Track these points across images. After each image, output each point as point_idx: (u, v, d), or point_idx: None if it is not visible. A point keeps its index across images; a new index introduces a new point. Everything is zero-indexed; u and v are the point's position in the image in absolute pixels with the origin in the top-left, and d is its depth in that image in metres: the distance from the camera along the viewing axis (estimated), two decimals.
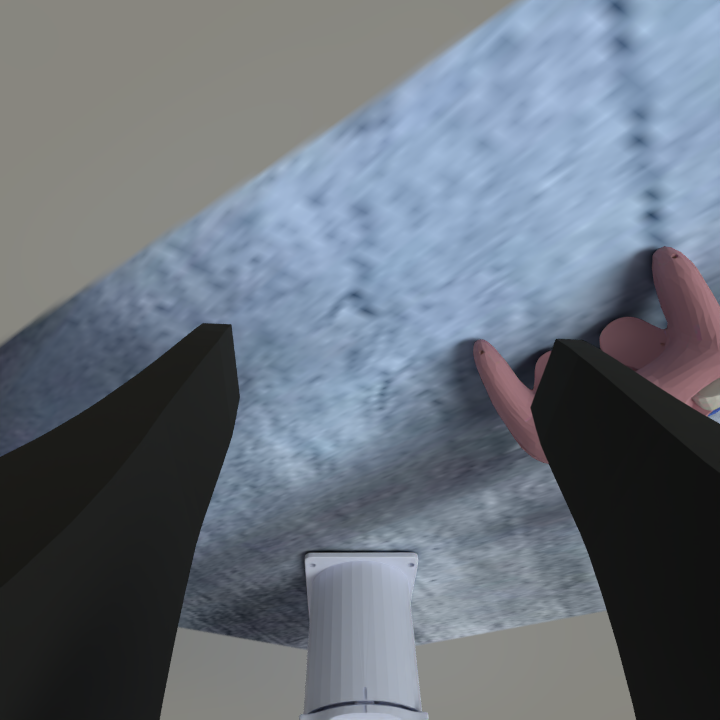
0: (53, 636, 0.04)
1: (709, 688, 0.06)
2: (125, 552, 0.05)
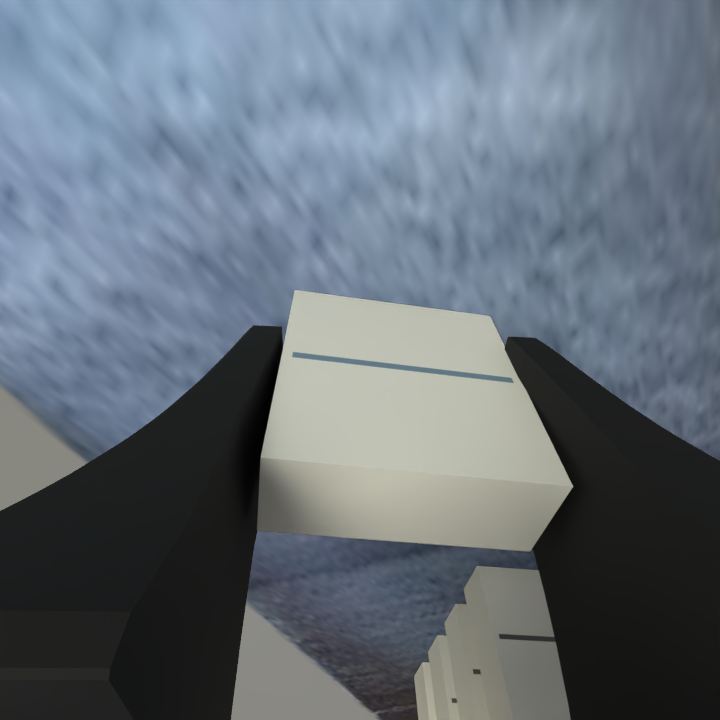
0: (173, 637, 0.04)
1: (629, 688, 0.06)
2: (215, 552, 0.06)
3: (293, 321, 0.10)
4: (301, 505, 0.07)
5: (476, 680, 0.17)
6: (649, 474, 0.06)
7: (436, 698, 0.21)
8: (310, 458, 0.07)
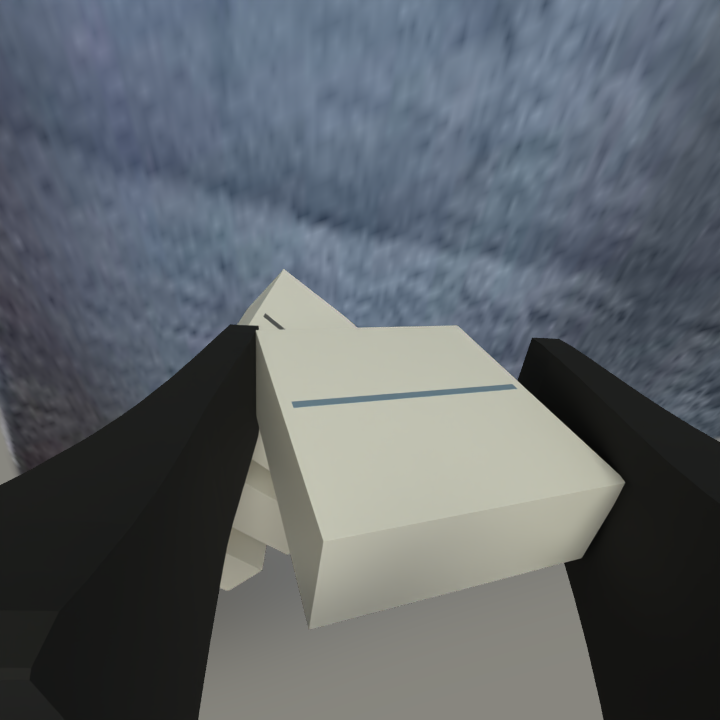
0: (118, 637, 0.04)
1: (669, 688, 0.06)
2: (173, 553, 0.06)
3: (273, 365, 0.08)
4: (364, 583, 0.06)
5: None
6: (688, 475, 0.06)
7: None
8: (377, 525, 0.06)
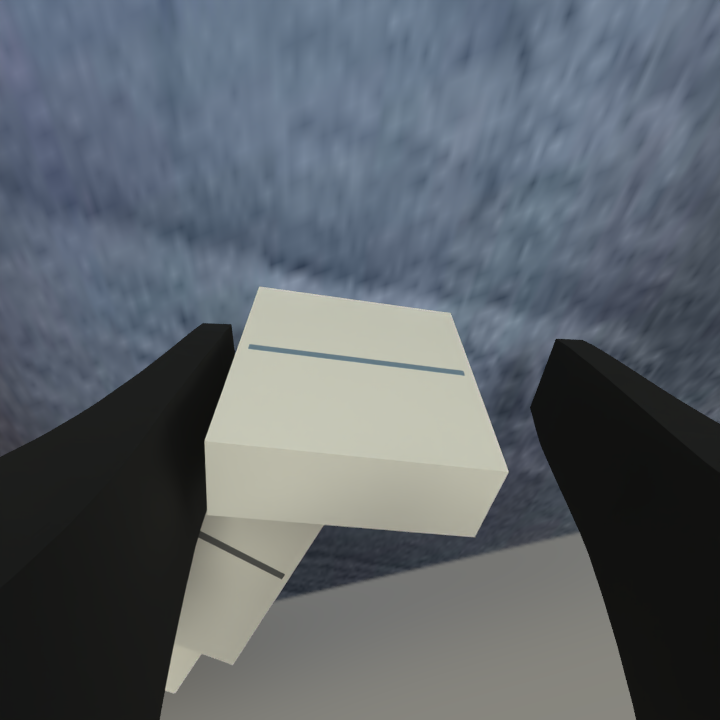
0: (53, 636, 0.04)
1: (709, 688, 0.06)
2: (125, 551, 0.05)
3: (254, 315, 0.10)
4: (248, 489, 0.08)
5: None
6: None
7: None
8: (252, 442, 0.07)
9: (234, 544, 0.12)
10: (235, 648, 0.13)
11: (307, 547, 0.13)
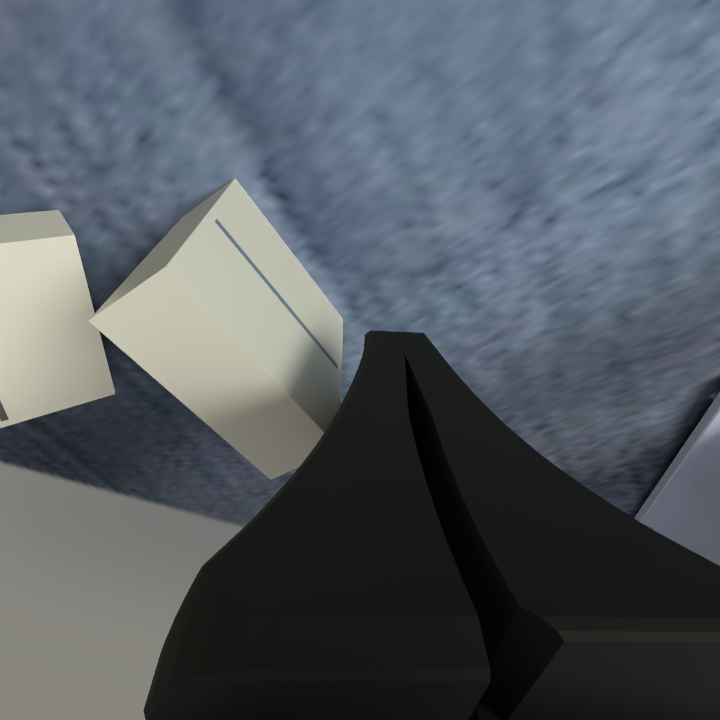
0: None
1: None
2: None
3: (225, 198, 0.10)
4: (152, 328, 0.08)
5: None
6: (463, 467, 0.06)
7: None
8: (200, 298, 0.07)
9: None
10: None
11: (51, 410, 0.12)
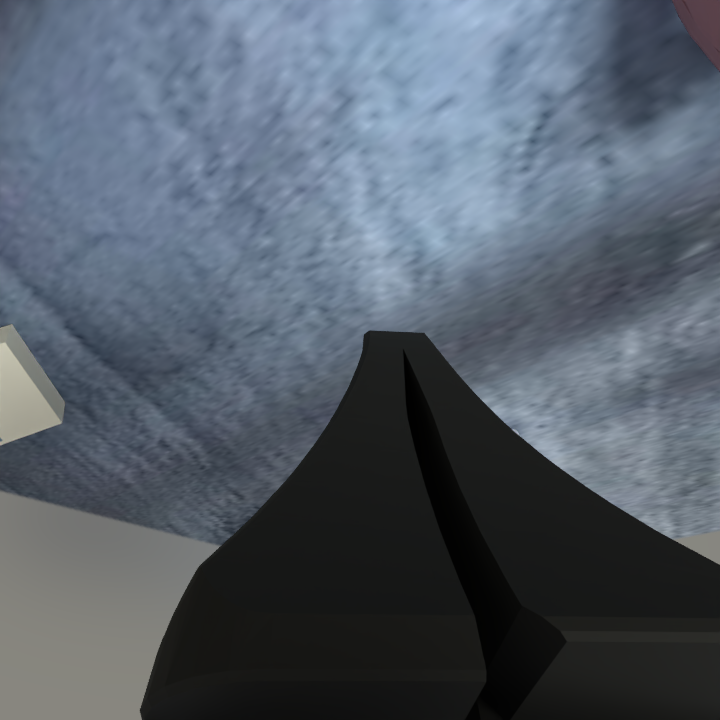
0: None
1: None
2: None
3: None
4: None
5: None
6: (464, 467, 0.06)
7: None
8: None
9: None
10: None
11: None
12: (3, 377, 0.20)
